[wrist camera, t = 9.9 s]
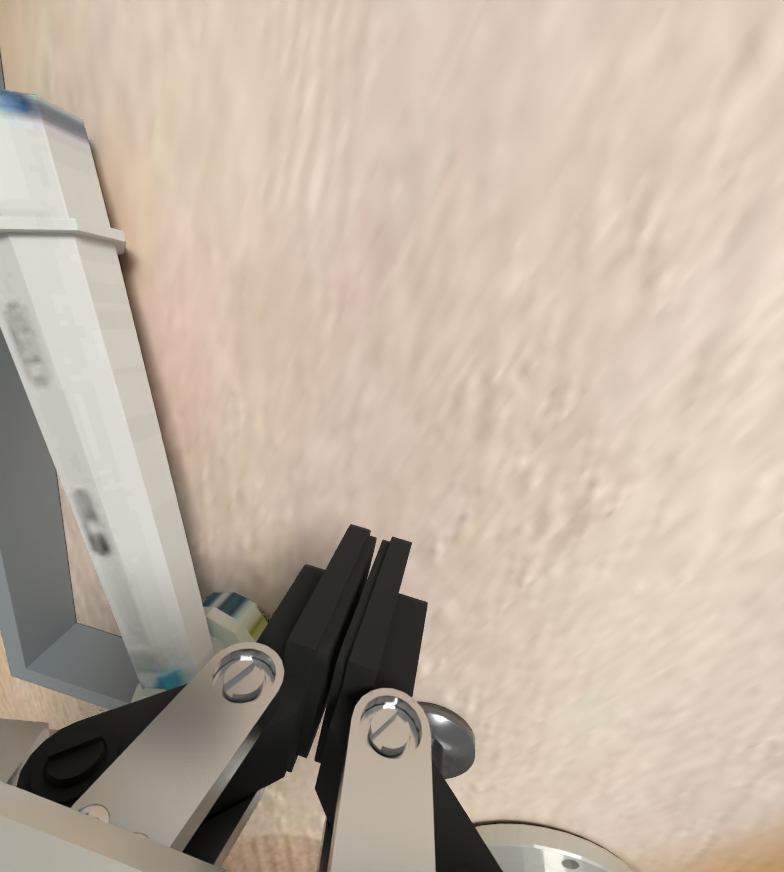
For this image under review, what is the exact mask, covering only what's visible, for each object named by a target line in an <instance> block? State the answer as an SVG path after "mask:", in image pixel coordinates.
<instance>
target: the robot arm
mask: <svg viewBox="0 0 784 872" xmlns="http://www.w3.org/2000/svg"><path fill="white" fill-rule="evenodd" d="M370 532H371V530H369V529H366V528H362V527H359V526H355V525H352V524H351V525H350V526H349V528H348V529H347V531H346V533H345V535H344V537H343V539H342V540H341V542H340V544H339V546H338V548H337V550H336V551H335V553H334V555H333V557H332V559H331V561H330V562H329V564H328V566H327V568H326V570H323V569H320V568H317V567H313V566H310V565H305V566H304V567H303V569H302V570H301V571H300V573H299V575H298V576H297V578H296V579H295V581H294V583H293V584H292V586H291V587H290V589H289V591H288V592H287V594H286V595H285V597H284V599H283V600H282V602H281V603H280V605H279V606H278V608H277V610H276V611H275V613H274V614H273V616H272V618H271V619H270V621H269V622H268V624H267V626H266V627H265V629H264V630H263V632H262V633H261V635H260V637H259V638H258V640H257V641H256V643H254V642H243V643H238V644H233V645H231V646H229V647H227V648H225V649H223V650H221V651H220V652H219V653H218V654H216V655H215V656H214V657H213V658H212V659H211V660H210V661H209V662H208V663H207V664H206V665H205V666H204V667H203V668H202V669H201V670H200V671H199V672H198V674H197V675H196V676H195V677H194V678H193V679H192V680H191V681H190V682H189V683H187V684H184V685H181V686H178V687H176V688H173V689H170V690H167V691H164V692H161V693H158V694H155V695H153V696H150V697H147V698H144V699H141V700H138V701H135V702H132V703H130V704H127V705H124V706H121V707H118V708H115V709H112V710H109V711H107V712H104V713H101V714H98V715H95V716H92V717H89V718H86V719H84V720H81V721H78V722H75V723H73V724H71V725H69V726H67V727H64V728H62V729H60V730H51V729H49V725H48V723H44V722H33V721H22V720H11V719H0V872H229V871H227V870H224V869H222V868H221V866H222V864H223V863H224V861H225V859H226V857H227V856H228V854H229V852H230V851H231V849H232V847H233V845H234V844H235V842H236V840H237V838H238V837H239V835H240V833H241V832H242V830H243V828H244V826H245V825H246V823H247V821H248V820H249V818H250V816H251V814H252V813H253V811H254V809H255V808H256V806H257V804H258V802H259V801H260V799H261V797H262V794H263V792H264V789H265V787H266V786H268V785H270V784H272V783H274V782H276V781H277V780H279V779H281V778H283V777H284V776H285V773H286V771H288V772H292V769H293V767H294V764H295V762H296V759H297V757H298V755H299V756H302V757H305V758H307V756H308V754H309V752H310V749H311V746H312V743H313V741H314V738H315V735H316V733H317V730H318V727H319V724H320V722H321V719H322V716H323V713H324V711H325V708H326V711H325V715H324V720H323V724H322V729H321V733H320V737H319V742H318V746H317V751H316V755H315V760H314V761H316V762H319V763H321V765H320V769H319V773H318V777H317V782H316V786H315V790H316V792H317V795H318V797H319V800H320V802H321V805H322V807H323V810H324V812H325V815H326V818H325V822H324V828H323V834H322V840H321V846H320V853H319V859H318V865H317V871H316V872H634V871H633V870H632V869H631V868H630V867H629V866H628V865H626V864H625V863H624V862H623V861H622V860H620V859H619V858H617V857H616V856H615V855H613V854H612V853H610V852H609V851H607V850H606V849H604V848H602V847H600V846H598V845H596V844H594V843H592V842H590V841H588V840H585V839H582V838H580V837H577V836H574V835H571V834H569V833H566V832H562V831H558V830H554V829H549V828H545V827H539V826H532V825H524V824H491V825H481V826H477V827H475V826H474V825H473V823H472V822H471V820H470V819H469V817H468V815H467V814H466V812H465V811H464V809H463V808H462V806H461V804H460V803H459V801H458V800H457V798H456V796H455V795H454V793H453V792H452V790H451V789H450V787H449V785H448V784H447V782H446V781H445V779H444V778H443V776H442V774H441V773H440V771H439V770H438V768H437V766H436V765H435V763H434V762H433V760H432V759H431V733H430V727H429V722H428V719H427V717H426V715H425V713H424V711H423V709H422V708H421V706H420V705H419V704H418V703H417V702H416V701H415V700H414V699H413V698H412V696H413V690H414V684H415V678H416V672H417V666H418V660H419V654H420V648H421V642H422V636H423V630H424V624H425V617H426V611H427V605H428V603H427V602H425V601H422V600H419V599H415V598H412V597H409V596H406V595H403V594H399V590H400V586H401V582H402V578H403V575H404V571H405V567H406V563H407V560H408V556H409V552H410V548H411V545H412V542H409V541H406V540H402V539H399V538H396V537H392V538H391V541H390V542H389V541H386V540H382V543H381V545H380V548H379V551H378V553H377V556H376V558H375V561H374V564H373V566H372V569H371V571H370V574H369V569H370V565H371V561H372V557H373V553H374V548H375V544H376V539H377V538H376V537H373V536H370ZM368 574H369V577H368ZM367 578H368V579H367ZM326 705H327V706H326Z"/></svg>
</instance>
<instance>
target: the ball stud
mask: <svg viewBox="0 0 784 872" xmlns="http://www.w3.org/2000/svg"><path fill="white" fill-rule="evenodd" d="M417 703H418V704H419V705H420V706H421V708H422V709H423V711H424V713H425V715H426V717H427V719H428V722H429V727H430V733H431V759H432V760H433V762H434V763H435V765H436V766H437V768H438V770H439V771H440V773H441V774H442V776H443V778H444V779H448V778H453V777H456V776H459V775H461V774H463V773H465V772H466V771H467V770H468V769H469V768H470V767H471V766H472V764H473V762H474V759H475V737H474V734H473V732H472V729H471V728H470V726H469V725H468V724H467V723H466V722H465V721H464V720H463V719H462V718H461V717H460V716H458V715H457V714H456V713H454V712H452V711H451V710H449V709H446V708H444V707H441V706H439V705H435V704H431V703H425V702H417Z"/></svg>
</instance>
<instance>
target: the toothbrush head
mask: <svg viewBox="0 0 784 872" xmlns="http://www.w3.org/2000/svg"><path fill="white" fill-rule="evenodd" d="M125 244H126V240H125V236H124V232H123V231H121V230H117V229H114V228H111V227H110V224H109V220H108V216H107V212H106V208H105V204H104V200H103V196H102V192H101V188H100V184H99V180H98V177H97V173H96V169H95V165H94V161H93V157H92V153H91V149H90V145H89V141H88V137H87V133H86V130H85V126H84V122H83V119H81V118H79V117H77V116H76V115H74V114H72V113H70V112H68V111H66V110H64V109H62V108H60V107H58V106H57V105H55V104H53V103H51V102H49V101H47V100H45V99H43V98H41V97H39V96H38V95H36V94H29V93H22V92H16V91H9V90H2V89H0V327H1V330H2V333H3V335H4V338H5V340H6V343H7V345H8V348H9V350H10V353H11V356H12V358H13V361H14V363H15V366H16V368H17V371H18V373H19V376H20V378H21V381H22V384H23V386H24V389H25V391H26V394H27V396H28V399H29V401H30V404H31V406H32V409H33V412H34V414H35V417H36V419H37V422H38V424H39V427H40V429H41V432H42V435H43V437H44V440H45V442H46V445H47V447H48V450H49V452H50V455H51V457H52V460H53V463H54V465H55V468H56V470H57V473H58V475H59V478H60V480H61V483H62V486H63V488H64V491H65V493H66V496H67V498H68V501H69V503H70V506H71V508H72V511H73V514H74V516H75V519H76V521H77V524H78V526H79V529H80V531H81V534H82V537H83V539H84V542H85V544H86V547H87V549H88V552H89V554H90V557H91V559H92V562H93V565H94V567H95V570H96V572H97V575H98V577H99V580H100V582H101V585H102V588H103V590H104V593H105V595H106V598H107V600H108V603H109V605H110V608H111V610H112V613H113V616H114V618H115V621H116V623H117V626H118V628H119V631H120V633H121V636H122V639H123V641H124V644H125V646H126V649H127V651H128V654H129V656H130V659H131V661H132V664H133V667H134V669H135V672H136V674H137V677H138V679H139V682H140V683H139V684H138V686H137V687H136V690H135V693H134V695H133V698H132V701H131V703H132V702H135V701H138V700H141V699H144V698H147V697H150V696H153V695H155V694H158V693H161V692H164V691H167V690H170V689H173V688H176V687H178V686H181V685H184V684H187V683H189V682H190V681H191V680H192V679H193V678H194V677H195V676H196V675H197V674H198V672H199V671H200V670H201V669H202V668H203V667H204V666H205V665H206V664H207V663H208V662H209V661H210V660H211V659H212V658H213V657H214V656H215V655H216V654H218V653H219V652H220V651H221V650H223V649H225V648H227V647H229V646H231V645H233V644H238V643H243V642H254V643H256V641H257V640H258V638H259V637H260V635H261V633H262V632H263V630H264V629H265V627H266V626H267V624H268V622H267V621H266V619H265V618H264V616H263V615H262V614H261V612H260V611H259V609H258V608H257V605H258V604H256V603H254V602H252V601H250V600H248V599H246V598H244V597H242V596H240V595H238V594H236V593H212V594H211V595H210V596H209V597H208V598H206V599H205V600H204V601H203V602H202V600H201V596H200V592H199V588H198V584H197V580H196V576H195V572H194V567H193V563H192V559H191V555H190V551H189V547H188V543H187V539H186V535H185V531H184V526H183V522H182V518H181V514H180V510H179V506H178V502H177V498H176V494H175V489H174V485H173V481H172V477H171V473H170V469H169V465H168V461H167V457H166V453H165V448H164V444H163V440H162V436H161V432H160V428H159V424H158V420H157V416H156V411H155V407H154V403H153V399H152V395H151V391H150V387H149V383H148V379H147V375H146V370H145V366H144V362H143V358H142V354H141V350H140V346H139V342H138V338H137V333H136V329H135V325H134V321H133V317H132V313H131V309H130V305H129V301H128V297H127V292H126V288H125V284H124V280H123V276H122V272H121V268H120V264H119V260H118V255H119V254H124V251H125Z"/></svg>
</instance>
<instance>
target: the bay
mask: <svg viewBox="0 0 784 872" xmlns="http://www.w3.org/2000/svg"><path fill="white" fill-rule="evenodd" d="M0 89H2V90H5V89H4V81H3V74H2V66H1V59H0ZM0 630H1V635H2V639H3V643H4V647H5V652H6V656H7V660H8V664H9V669H10V673H11V676H13V677H16V678H19V679H22V680H25V681H28V682H31V683H34V684H37V685H40V686H43V687H46V688H48V689H51V690H54V691H57V692H60V693H63V694H66V695H69V696H72V697H75V698H78V699H81V700H84V701H87V702H90V703H93V704H96V705H99V706H102V707H105V708H108V709H111V710H112V709H115V708H118V707H121V706H124V705H127V704H130V703H131V701H132V698H133V695H134V693H135V690H136V687H137V686H138V684H139V683H140V682H139V679H138V677H137V674H136V672H135V669H134V667H133V664H132V661H131V659H130V656H129V654H128V651H127V649H126V646H125V644H124V641H123V639H122V637H119V636H115V635H112V634H109V633H106V632H103V631H100V630H97V629H94V628H91V627H87V626H84V625H81V624H78V623H76V618H75V610H74V603H73V595H72V588H71V580H70V573H69V566H68V558H67V551H66V543H65V536H64V528H63V521H62V513H61V506H60V498H59V491H58V484H57V476H56V469H55V465H54V463H53V460H52V457H51V455H50V452H49V450H48V447H47V445H46V442H45V440H44V437H43V435H42V432H41V429H40V427H39V424H38V422H37V419H36V417H35V414H34V412H33V409H32V406H31V404H30V401H29V399H28V396H27V394H26V391H25V389H24V386H23V384H22V381H21V378H20V376H19V373H18V371H17V368H16V366H15V363H14V361H13V358H12V356H11V353H10V350H9V348H8V345H7V343H6V340H5V338H4V335H3V333H2V330H1V327H0Z"/></svg>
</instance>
